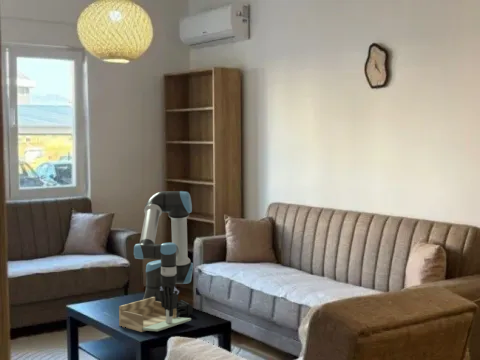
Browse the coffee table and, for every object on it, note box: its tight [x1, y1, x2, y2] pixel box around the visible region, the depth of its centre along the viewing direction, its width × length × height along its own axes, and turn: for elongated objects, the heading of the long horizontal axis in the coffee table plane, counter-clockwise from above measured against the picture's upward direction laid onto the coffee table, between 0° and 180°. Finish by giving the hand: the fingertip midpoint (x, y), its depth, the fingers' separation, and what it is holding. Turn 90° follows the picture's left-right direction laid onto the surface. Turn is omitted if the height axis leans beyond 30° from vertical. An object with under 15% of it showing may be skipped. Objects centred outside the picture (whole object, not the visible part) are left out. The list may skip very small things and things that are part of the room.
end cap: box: [176, 299, 194, 318], centre depth 346 cm, size 10×7×7 cm
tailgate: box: [143, 316, 192, 332], centre depth 321 cm, size 24×1×10 cm
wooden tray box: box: [118, 297, 177, 333], centre depth 329 cm, size 24×16×10 cm
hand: (169, 322), depth 320 cm, fingers closed
